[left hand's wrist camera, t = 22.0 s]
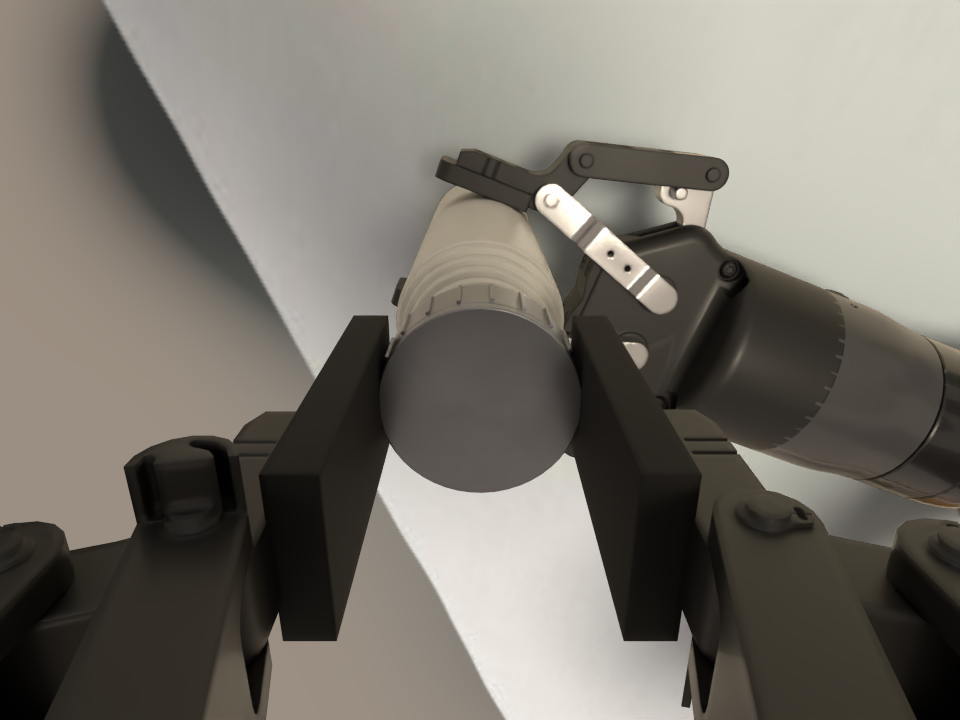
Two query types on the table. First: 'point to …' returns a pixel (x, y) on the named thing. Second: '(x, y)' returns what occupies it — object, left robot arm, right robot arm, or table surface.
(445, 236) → the bottle
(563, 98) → the table surface
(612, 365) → the left robot arm
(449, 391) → the cap
